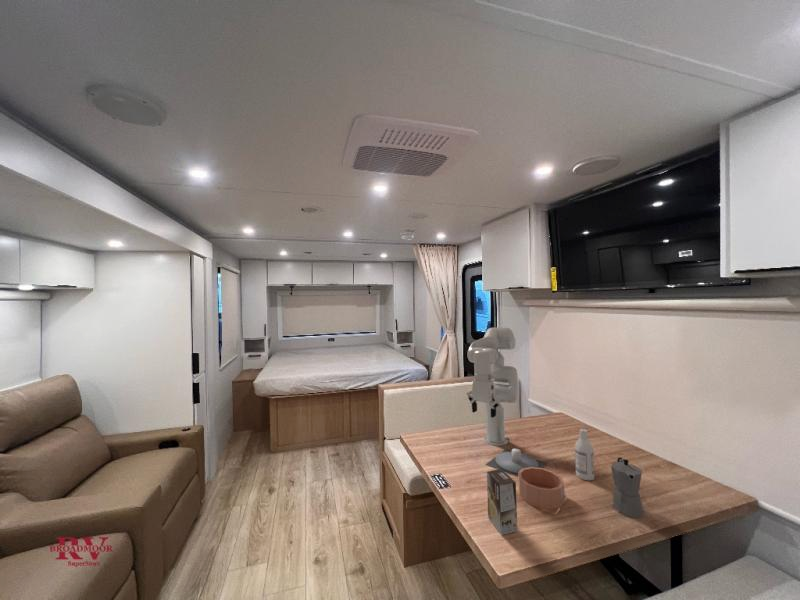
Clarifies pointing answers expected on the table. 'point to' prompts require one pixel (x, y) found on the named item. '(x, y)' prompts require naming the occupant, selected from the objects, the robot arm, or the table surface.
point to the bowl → (541, 488)
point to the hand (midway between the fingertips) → (483, 414)
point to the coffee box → (502, 501)
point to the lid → (515, 461)
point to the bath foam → (584, 457)
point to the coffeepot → (627, 488)
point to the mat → (494, 465)
